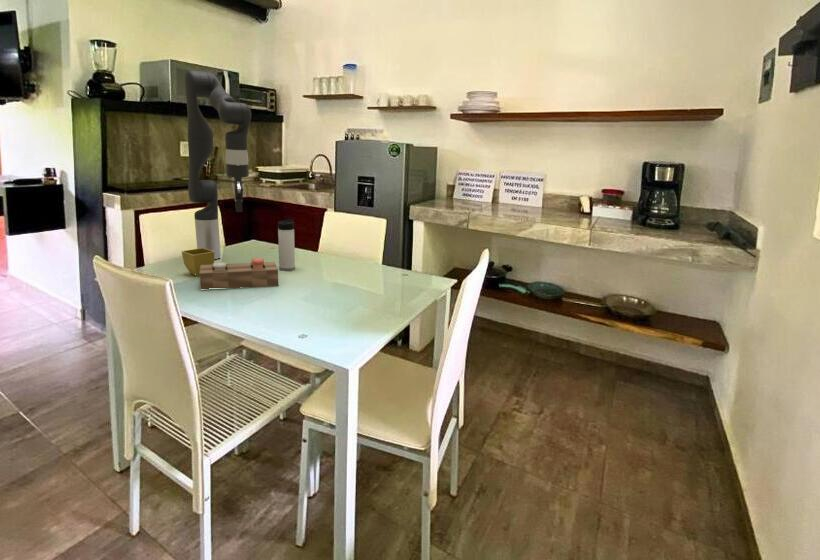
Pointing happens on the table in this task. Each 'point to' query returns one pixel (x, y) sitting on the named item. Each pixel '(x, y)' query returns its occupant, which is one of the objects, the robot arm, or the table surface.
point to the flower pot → (197, 259)
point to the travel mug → (286, 245)
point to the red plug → (257, 262)
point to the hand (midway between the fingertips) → (239, 211)
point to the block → (239, 276)
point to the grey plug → (219, 265)
